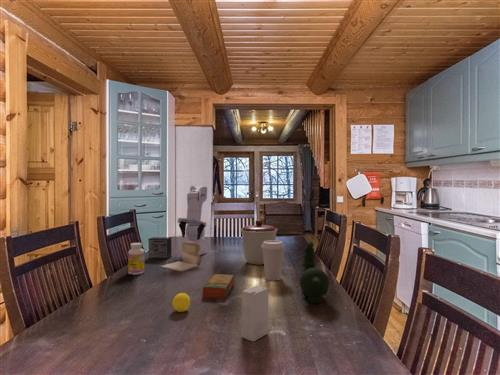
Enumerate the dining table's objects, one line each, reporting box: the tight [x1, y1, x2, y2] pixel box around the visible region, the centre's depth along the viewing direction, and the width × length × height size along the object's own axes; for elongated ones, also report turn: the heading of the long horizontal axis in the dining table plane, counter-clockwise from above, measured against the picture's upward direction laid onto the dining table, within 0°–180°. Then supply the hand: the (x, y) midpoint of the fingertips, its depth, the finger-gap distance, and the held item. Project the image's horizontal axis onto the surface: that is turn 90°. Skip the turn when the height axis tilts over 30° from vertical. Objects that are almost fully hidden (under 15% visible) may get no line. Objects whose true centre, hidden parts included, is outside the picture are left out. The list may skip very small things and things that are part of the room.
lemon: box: [171, 292, 191, 313], centre depth 102 cm, size 7×5×5 cm
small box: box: [147, 236, 173, 260], centre depth 174 cm, size 11×6×10 cm, turn 84°
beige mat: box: [160, 260, 199, 272], centre depth 155 cm, size 11×13×1 cm
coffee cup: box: [261, 239, 285, 281], centre depth 136 cm, size 10×10×15 cm
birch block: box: [181, 241, 201, 265], centre depth 162 cm, size 4×8×10 cm, turn 57°
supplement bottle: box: [127, 242, 145, 276], centre depth 145 cm, size 7×7×13 cm
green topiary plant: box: [299, 241, 330, 304], centre depth 115 cm, size 9×19×25 cm
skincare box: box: [241, 285, 269, 342], centre depth 85 cm, size 6×4×12 cm
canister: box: [240, 219, 278, 266], centre depth 163 cm, size 18×18×21 cm
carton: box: [202, 273, 235, 300], centre depth 121 cm, size 8×16×4 cm, turn 173°
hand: (191, 238), depth 164 cm, fingers open, 7 cm apart
